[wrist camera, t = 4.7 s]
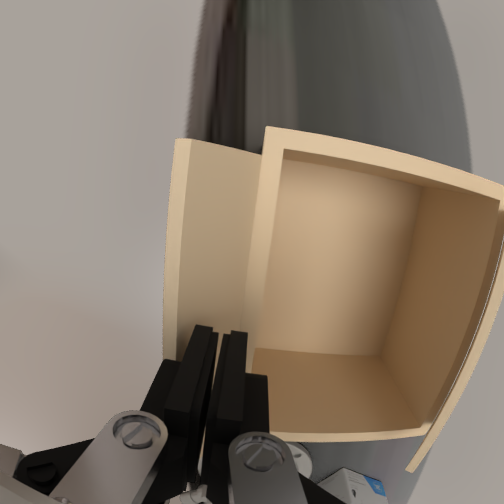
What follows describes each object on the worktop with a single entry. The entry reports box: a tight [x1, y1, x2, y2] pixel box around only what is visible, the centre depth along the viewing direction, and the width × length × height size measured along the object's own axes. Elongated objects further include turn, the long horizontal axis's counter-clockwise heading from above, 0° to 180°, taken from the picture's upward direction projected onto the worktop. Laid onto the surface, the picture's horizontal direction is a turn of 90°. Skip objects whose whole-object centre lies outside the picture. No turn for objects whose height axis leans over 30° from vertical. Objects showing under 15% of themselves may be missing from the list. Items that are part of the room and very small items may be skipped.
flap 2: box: [405, 242, 504, 473], centre depth 12 cm, size 5×14×1 cm
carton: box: [239, 126, 504, 442], centre depth 19 cm, size 16×13×10 cm
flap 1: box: [163, 138, 262, 460], centre depth 12 cm, size 5×14×1 cm
